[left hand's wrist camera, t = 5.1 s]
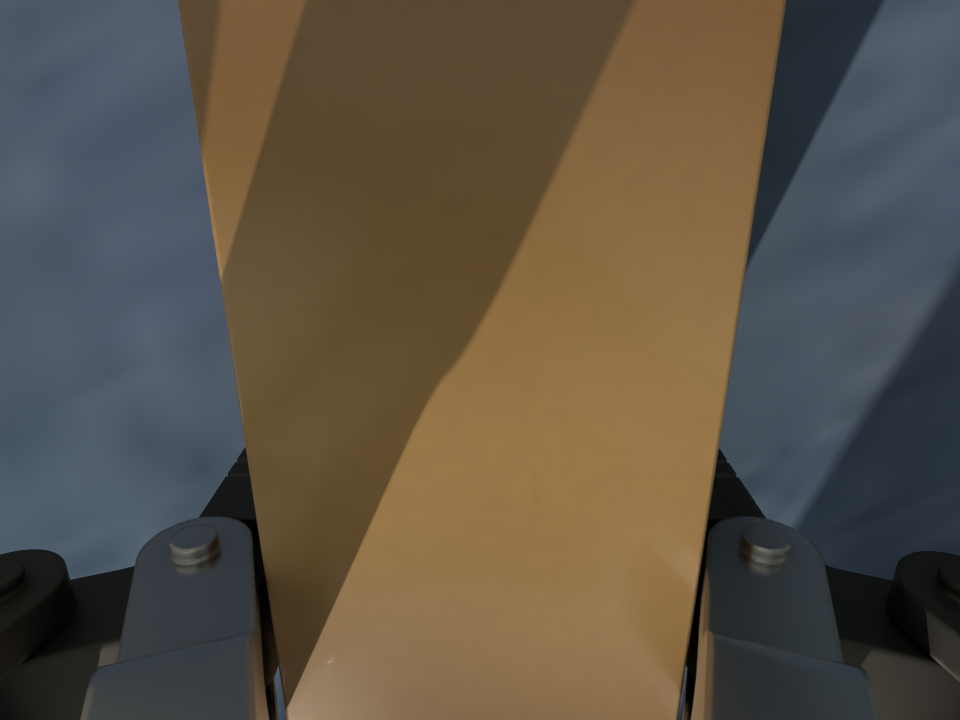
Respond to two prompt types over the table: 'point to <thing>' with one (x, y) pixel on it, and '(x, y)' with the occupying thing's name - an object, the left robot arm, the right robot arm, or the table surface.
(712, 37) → the post
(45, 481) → the table surface
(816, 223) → the table surface
